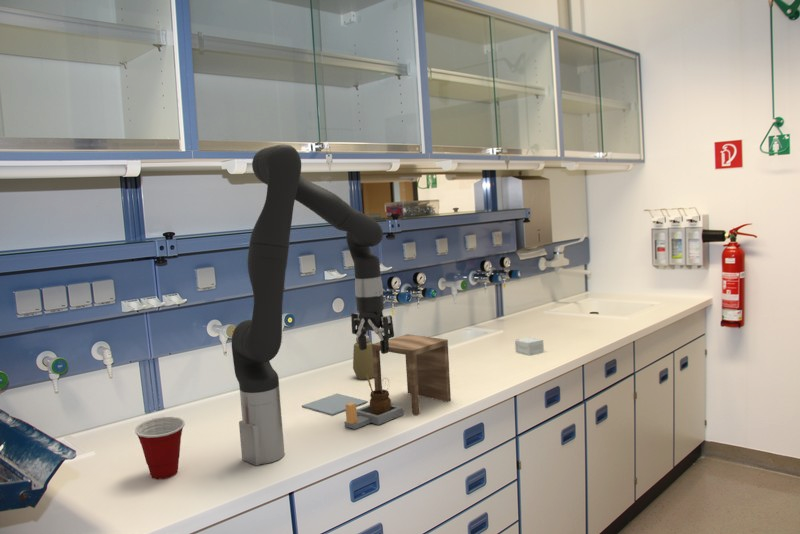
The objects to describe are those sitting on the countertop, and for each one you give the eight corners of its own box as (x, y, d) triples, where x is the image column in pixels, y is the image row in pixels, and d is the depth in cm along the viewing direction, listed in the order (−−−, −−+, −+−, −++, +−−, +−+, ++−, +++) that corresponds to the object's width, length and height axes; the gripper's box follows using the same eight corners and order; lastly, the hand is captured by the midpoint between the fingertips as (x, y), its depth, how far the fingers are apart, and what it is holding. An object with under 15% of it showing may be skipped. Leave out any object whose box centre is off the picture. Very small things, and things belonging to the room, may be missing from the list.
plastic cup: (146, 489, 136) (140, 436, 134) (134, 474, 144) (129, 424, 143) (195, 474, 142) (191, 424, 141) (181, 460, 151) (176, 412, 150)
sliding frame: (362, 431, 162) (360, 408, 162) (337, 424, 169) (335, 401, 169) (403, 414, 174) (402, 392, 173) (378, 408, 181) (377, 387, 180)
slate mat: (332, 415, 177) (332, 414, 177) (301, 407, 187) (301, 405, 187) (367, 402, 187) (367, 401, 187) (337, 394, 197) (337, 393, 197)
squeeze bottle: (381, 376, 216) (378, 325, 214) (365, 382, 210) (361, 329, 208) (365, 373, 221) (362, 323, 219) (348, 378, 215) (345, 327, 213)
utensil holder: (391, 419, 171) (388, 376, 170) (368, 420, 171) (366, 378, 170) (392, 412, 177) (389, 371, 176) (370, 413, 177) (367, 372, 176)
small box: (544, 352, 236) (543, 339, 235) (528, 356, 232) (528, 342, 231) (530, 349, 242) (529, 336, 242) (514, 352, 238) (514, 339, 238)
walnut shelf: (416, 415, 173) (412, 350, 171) (375, 405, 184) (371, 344, 182) (450, 400, 184) (447, 339, 183) (410, 392, 195) (407, 334, 194)
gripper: (341, 294, 172) (346, 351, 174) (377, 297, 162) (382, 357, 164) (361, 290, 177) (366, 345, 179) (397, 292, 168) (402, 351, 170)
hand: (374, 351), depth 172 cm, fingers open, 8 cm apart
